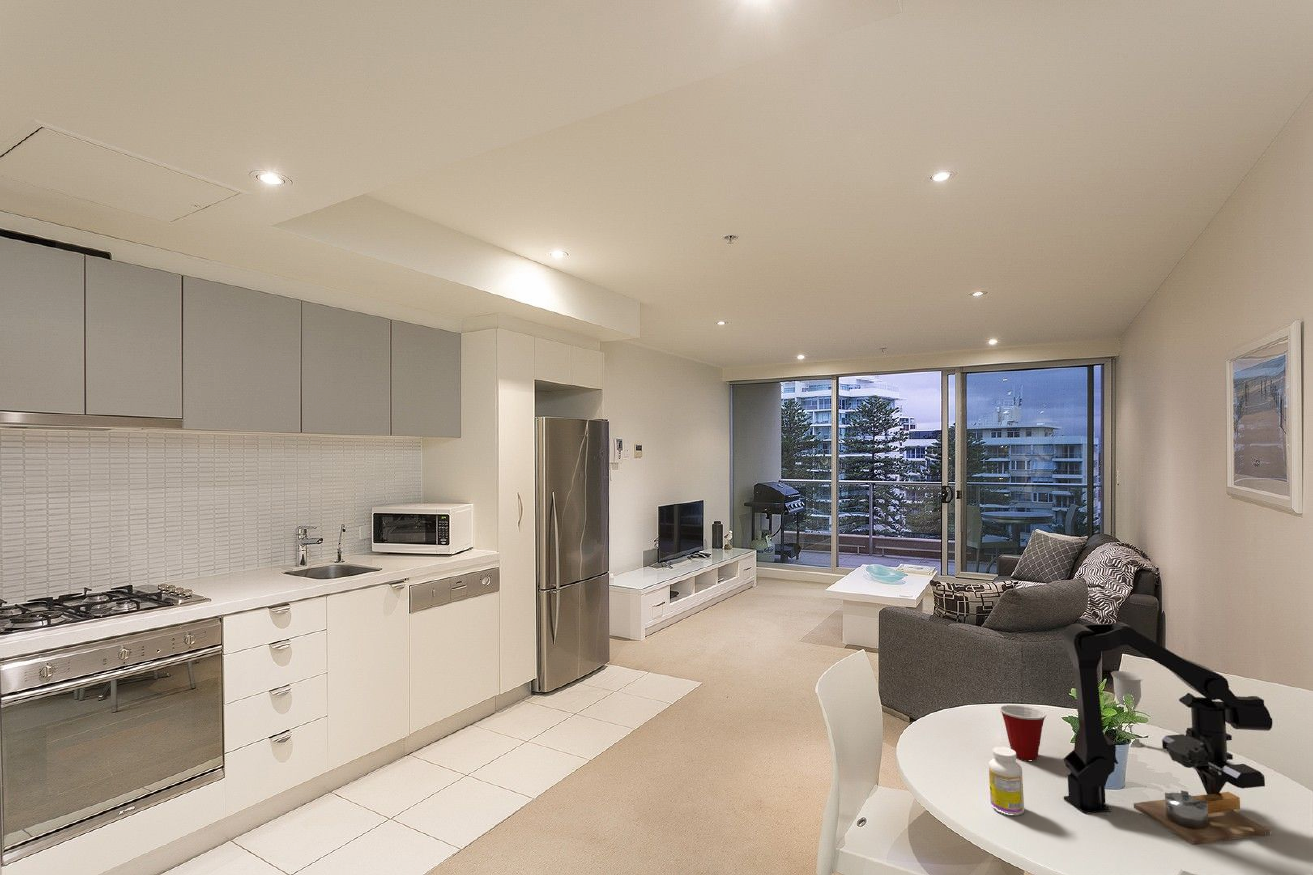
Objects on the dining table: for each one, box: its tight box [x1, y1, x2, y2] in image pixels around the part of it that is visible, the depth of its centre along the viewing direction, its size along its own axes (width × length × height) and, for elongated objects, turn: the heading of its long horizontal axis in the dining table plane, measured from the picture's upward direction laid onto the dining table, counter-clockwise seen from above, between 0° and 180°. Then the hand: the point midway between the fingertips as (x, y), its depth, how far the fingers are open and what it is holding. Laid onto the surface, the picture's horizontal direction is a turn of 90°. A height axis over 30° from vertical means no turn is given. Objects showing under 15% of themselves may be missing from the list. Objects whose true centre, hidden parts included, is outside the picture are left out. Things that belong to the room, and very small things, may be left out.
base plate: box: [1133, 794, 1272, 845], centre depth 140 cm, size 18×14×1 cm
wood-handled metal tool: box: [1164, 790, 1241, 828], centre depth 139 cm, size 16×7×4 cm, turn 99°
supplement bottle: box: [988, 746, 1025, 816], centre depth 147 cm, size 7×7×13 cm
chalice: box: [1110, 670, 1143, 748], centre depth 177 cm, size 7×7×18 cm
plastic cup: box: [999, 704, 1047, 762], centre depth 171 cm, size 11×11×12 cm
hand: (1212, 799), depth 142 cm, fingers closed
